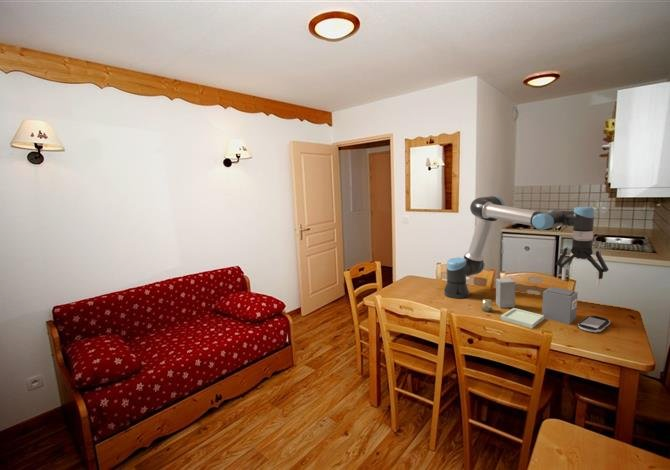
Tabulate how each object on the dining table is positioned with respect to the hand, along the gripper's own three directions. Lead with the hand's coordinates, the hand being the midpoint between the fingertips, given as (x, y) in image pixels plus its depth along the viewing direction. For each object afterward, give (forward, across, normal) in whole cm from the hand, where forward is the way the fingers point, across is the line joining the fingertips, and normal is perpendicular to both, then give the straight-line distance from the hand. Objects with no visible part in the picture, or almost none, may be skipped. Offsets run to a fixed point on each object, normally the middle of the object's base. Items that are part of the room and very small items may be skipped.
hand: (579, 282), depth 154 cm
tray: (+21, -20, -14) cm, 32 cm away
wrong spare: (+21, -38, -15) cm, 46 cm away
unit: (+21, -8, 0) cm, 22 cm away
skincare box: (+21, -34, -2) cm, 40 cm away
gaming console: (+21, +6, +1) cm, 22 cm away
